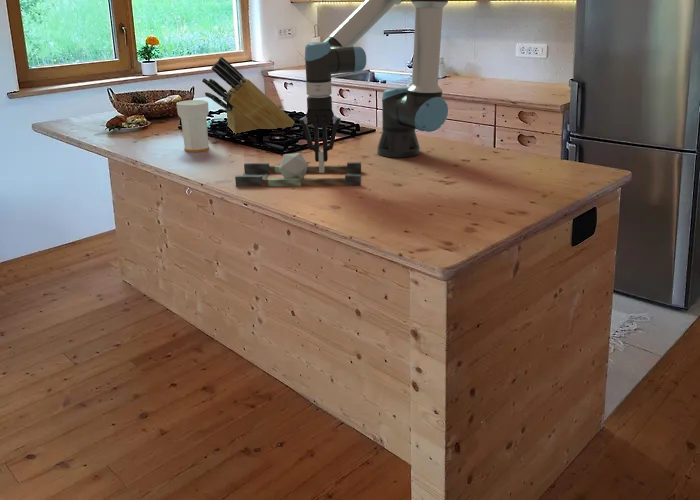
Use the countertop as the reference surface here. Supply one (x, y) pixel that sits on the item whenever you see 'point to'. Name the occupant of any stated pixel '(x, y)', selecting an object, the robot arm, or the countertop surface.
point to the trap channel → (260, 171)
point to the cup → (194, 124)
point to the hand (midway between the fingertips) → (321, 171)
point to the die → (293, 166)
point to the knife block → (245, 102)
